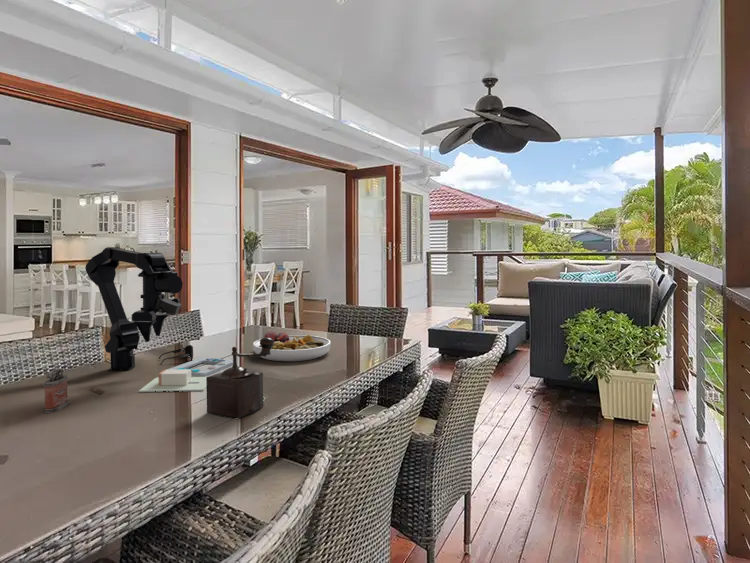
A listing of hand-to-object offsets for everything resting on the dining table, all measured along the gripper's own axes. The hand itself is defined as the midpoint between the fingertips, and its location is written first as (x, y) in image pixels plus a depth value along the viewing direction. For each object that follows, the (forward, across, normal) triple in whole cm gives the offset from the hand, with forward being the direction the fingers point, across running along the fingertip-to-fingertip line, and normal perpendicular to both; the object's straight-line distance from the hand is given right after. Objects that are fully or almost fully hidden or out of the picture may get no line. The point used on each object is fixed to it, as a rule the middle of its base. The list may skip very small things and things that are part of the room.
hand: (152, 338), depth 159 cm
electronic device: (+12, +6, -14) cm, 20 cm away
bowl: (+12, +28, -43) cm, 53 cm away
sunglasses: (+12, +19, -1) cm, 23 cm away
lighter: (+12, -33, +12) cm, 37 cm away
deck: (+11, -14, -12) cm, 21 cm away
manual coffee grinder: (+11, -35, -36) cm, 51 cm away
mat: (+11, -14, -13) cm, 22 cm away
